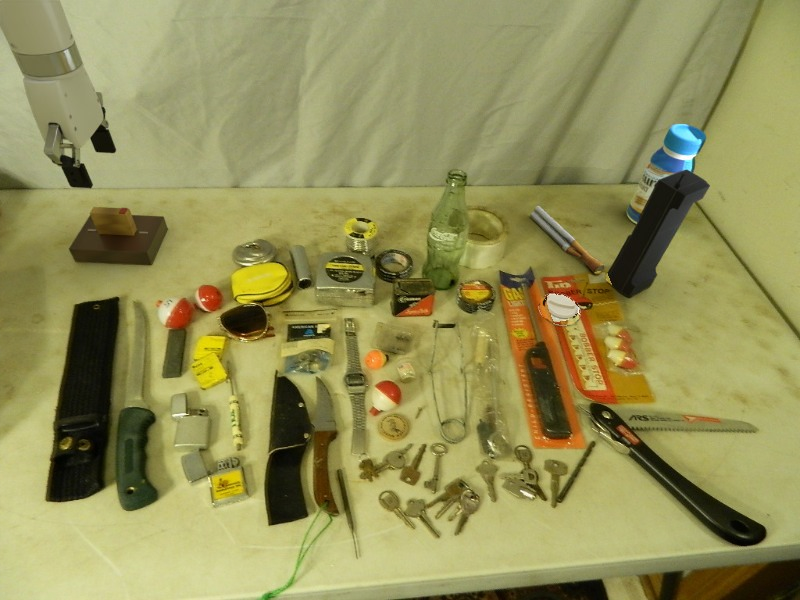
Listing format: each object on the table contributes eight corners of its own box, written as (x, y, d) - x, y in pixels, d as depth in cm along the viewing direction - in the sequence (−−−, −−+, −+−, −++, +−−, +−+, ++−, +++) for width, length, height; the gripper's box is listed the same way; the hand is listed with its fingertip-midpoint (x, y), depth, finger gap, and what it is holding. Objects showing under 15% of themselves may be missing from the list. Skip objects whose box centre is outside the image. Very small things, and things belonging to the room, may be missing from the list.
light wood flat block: (98, 234, 93) (88, 211, 89) (102, 227, 94) (92, 205, 91) (133, 235, 93) (125, 213, 90) (137, 229, 94) (128, 207, 91)
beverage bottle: (670, 231, 110) (719, 145, 96) (631, 229, 110) (674, 142, 95) (657, 206, 116) (701, 122, 102) (619, 204, 116) (658, 119, 101)
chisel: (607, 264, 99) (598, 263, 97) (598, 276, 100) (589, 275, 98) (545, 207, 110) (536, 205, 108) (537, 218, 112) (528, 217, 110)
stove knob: (578, 331, 89) (582, 323, 88) (535, 319, 90) (538, 311, 89) (581, 301, 94) (585, 294, 93) (540, 290, 95) (543, 283, 94)
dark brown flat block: (74, 261, 92) (67, 248, 90) (96, 225, 99) (90, 212, 97) (151, 265, 93) (146, 251, 90) (168, 228, 100) (163, 215, 97)
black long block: (629, 265, 102) (690, 149, 84) (654, 284, 99) (723, 168, 81) (601, 278, 99) (659, 161, 81) (626, 299, 95) (692, 182, 77)
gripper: (48, 31, 76) (91, 138, 89) (-15, 85, 65) (45, 200, 77) (102, 34, 77) (137, 141, 89) (49, 89, 65) (98, 203, 77)
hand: (94, 168), depth 83 cm, fingers open, 9 cm apart
